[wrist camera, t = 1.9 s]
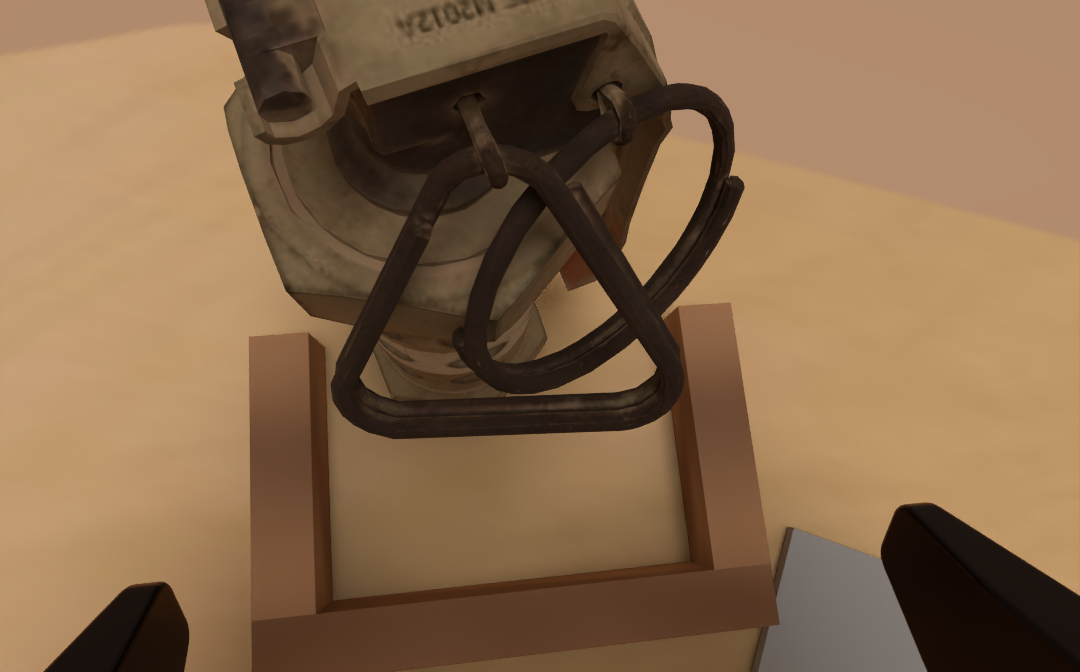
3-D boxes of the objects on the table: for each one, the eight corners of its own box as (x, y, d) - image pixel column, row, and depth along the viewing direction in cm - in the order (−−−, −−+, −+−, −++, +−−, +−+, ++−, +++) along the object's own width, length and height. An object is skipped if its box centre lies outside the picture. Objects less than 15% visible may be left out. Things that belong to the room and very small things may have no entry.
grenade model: (436, 507, 20) (311, 567, 5) (354, 284, 21) (56, -195, 6) (641, 422, 21) (1037, 267, 6) (552, 214, 22) (703, -343, 7)
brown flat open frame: (750, 611, 20) (780, 624, 18) (276, 666, 18) (251, 688, 16) (707, 319, 21) (730, 302, 19) (271, 351, 20) (248, 337, 18)
